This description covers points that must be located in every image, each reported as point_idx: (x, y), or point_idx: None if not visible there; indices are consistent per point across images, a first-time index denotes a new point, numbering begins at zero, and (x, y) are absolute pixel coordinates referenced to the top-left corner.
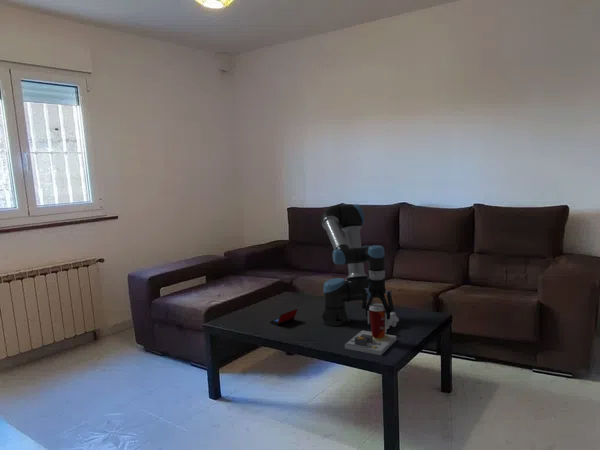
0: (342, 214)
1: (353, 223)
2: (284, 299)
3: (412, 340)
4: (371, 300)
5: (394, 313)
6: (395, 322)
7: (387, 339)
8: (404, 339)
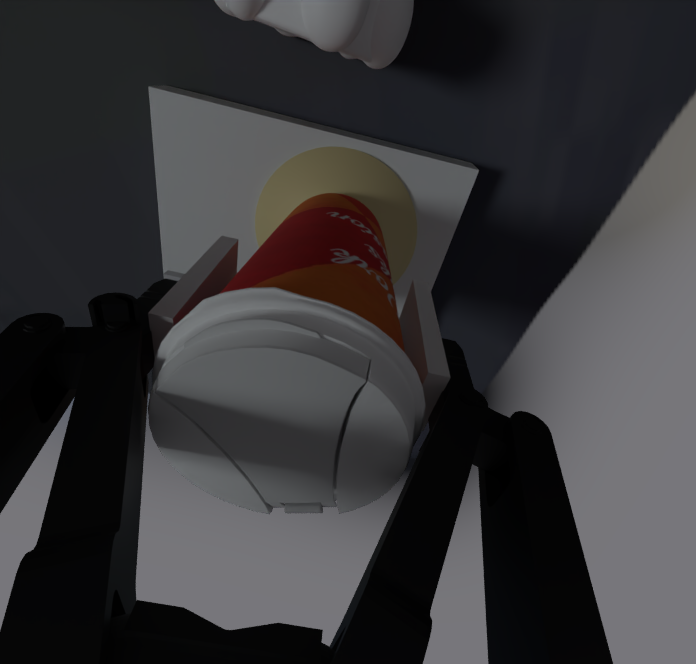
0: None
1: None
2: None
3: (609, 145)
4: (137, 546)
5: None
6: None
7: (407, 267)
8: (541, 136)
